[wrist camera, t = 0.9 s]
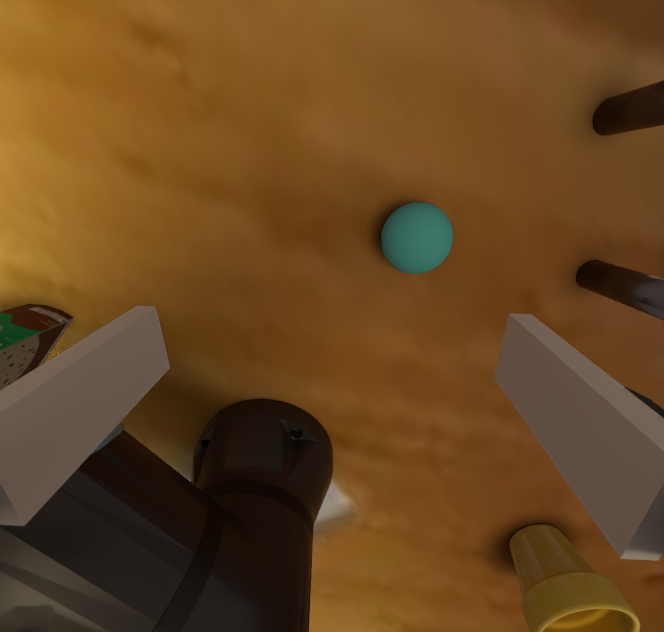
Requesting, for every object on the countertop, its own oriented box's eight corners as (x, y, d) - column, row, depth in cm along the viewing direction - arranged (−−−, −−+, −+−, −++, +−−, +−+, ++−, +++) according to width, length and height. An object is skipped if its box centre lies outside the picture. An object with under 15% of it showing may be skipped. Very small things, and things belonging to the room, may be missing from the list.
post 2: (574, 290, 30) (666, 329, 22) (577, 262, 29) (674, 293, 21) (604, 285, 30) (707, 323, 22) (607, 257, 29) (718, 286, 21)
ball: (380, 269, 30) (390, 287, 25) (373, 206, 28) (382, 211, 23) (442, 259, 29) (464, 275, 24) (439, 195, 27) (463, 197, 22)
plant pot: (527, 576, 46) (576, 674, 36) (477, 544, 43) (516, 640, 34) (592, 537, 43) (662, 633, 33) (541, 500, 40) (602, 592, 31)
